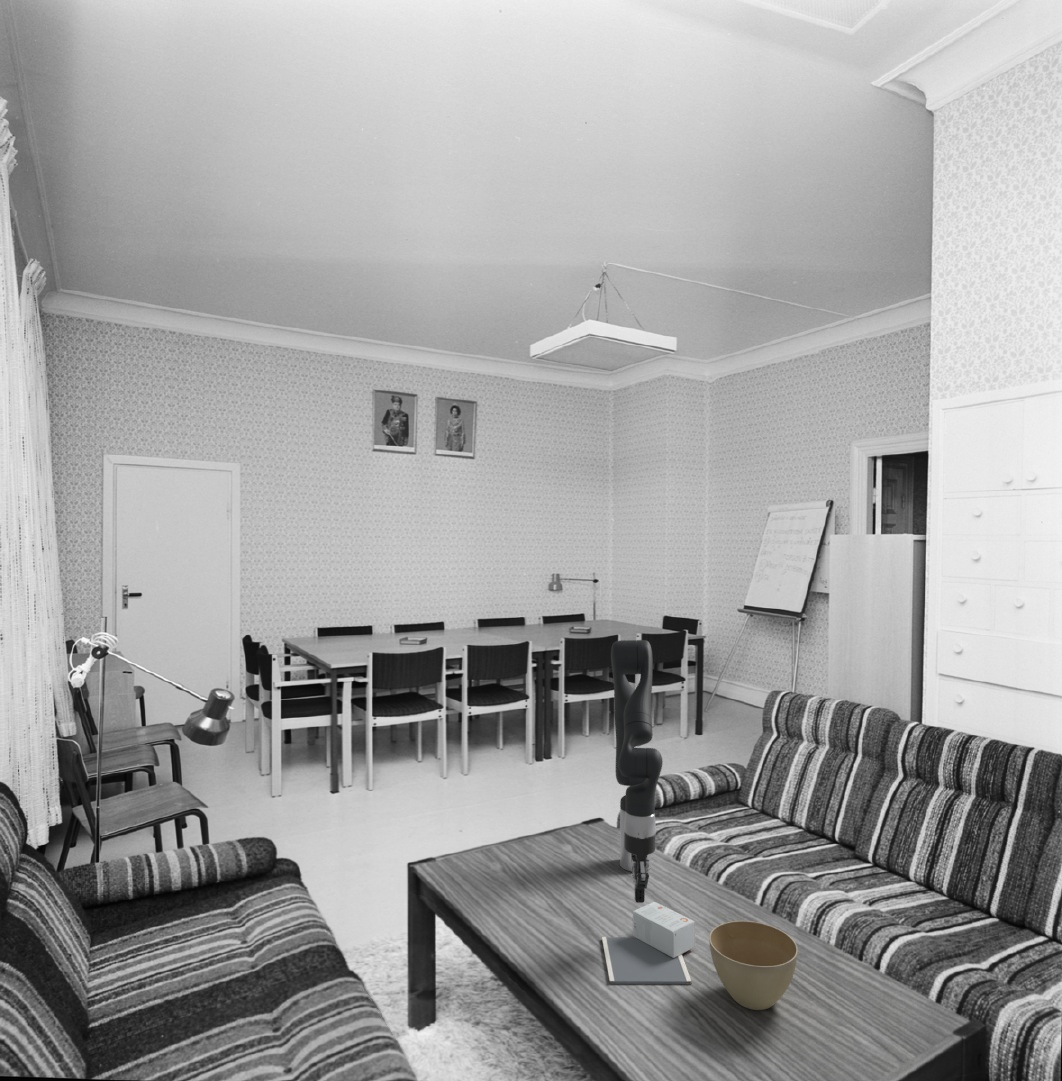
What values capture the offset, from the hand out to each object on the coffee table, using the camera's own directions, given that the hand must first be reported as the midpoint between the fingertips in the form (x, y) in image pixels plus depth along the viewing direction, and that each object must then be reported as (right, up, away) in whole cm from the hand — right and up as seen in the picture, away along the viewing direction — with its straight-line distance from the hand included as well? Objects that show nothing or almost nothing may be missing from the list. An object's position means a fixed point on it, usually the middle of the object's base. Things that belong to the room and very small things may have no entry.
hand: (639, 901), depth 182 cm
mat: (0, -10, -8) cm, 13 cm away
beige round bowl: (+21, -11, -22) cm, 32 cm away
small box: (+2, -6, +4) cm, 8 cm away
